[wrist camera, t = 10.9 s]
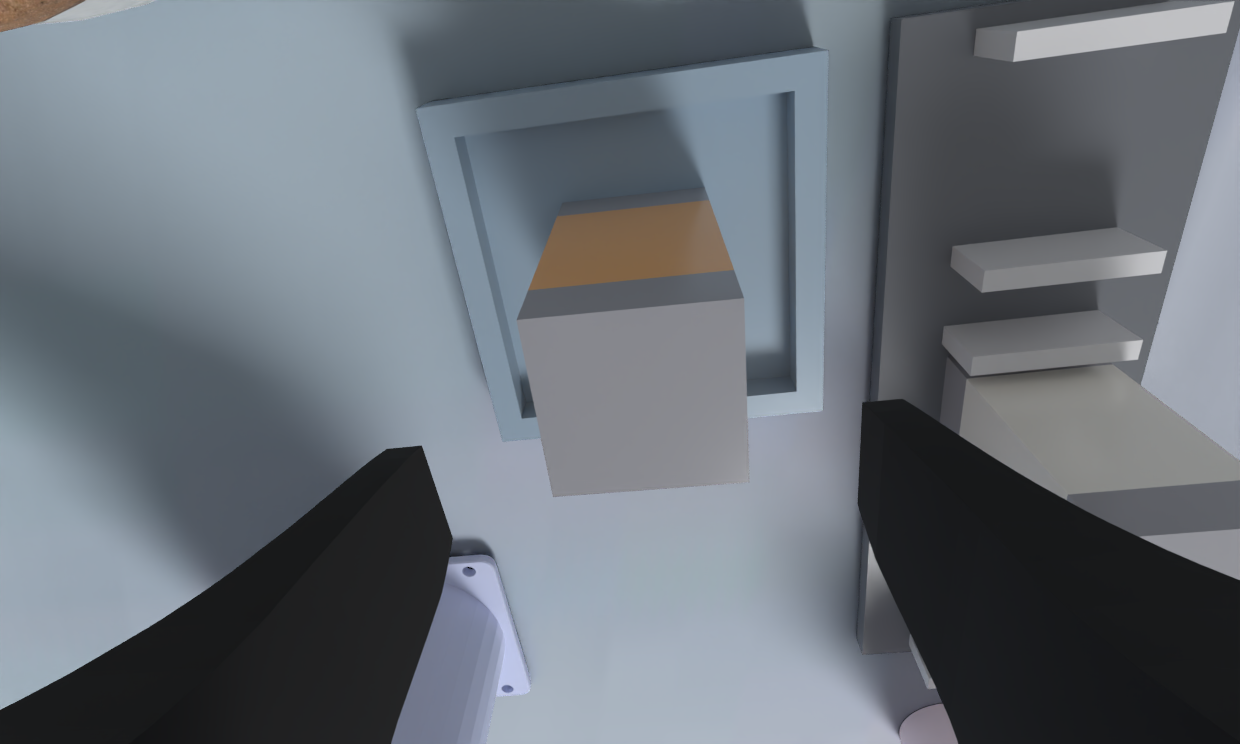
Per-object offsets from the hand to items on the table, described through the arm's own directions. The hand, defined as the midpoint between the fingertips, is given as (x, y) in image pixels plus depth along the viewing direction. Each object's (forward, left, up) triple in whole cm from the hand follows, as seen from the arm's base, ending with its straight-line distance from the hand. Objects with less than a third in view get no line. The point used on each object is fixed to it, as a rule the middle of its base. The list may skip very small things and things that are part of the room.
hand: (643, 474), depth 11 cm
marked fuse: (0, 0, -10) cm, 10 cm away
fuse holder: (+11, -6, -10) cm, 16 cm away
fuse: (+11, -6, -10) cm, 16 cm away
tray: (0, 0, -10) cm, 10 cm away
